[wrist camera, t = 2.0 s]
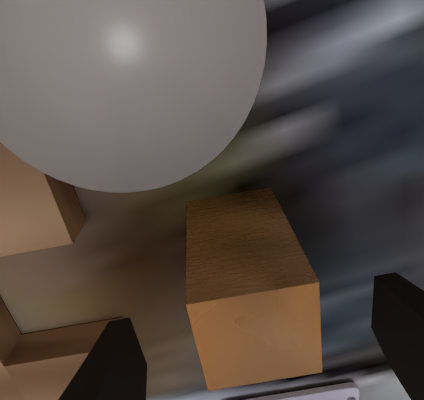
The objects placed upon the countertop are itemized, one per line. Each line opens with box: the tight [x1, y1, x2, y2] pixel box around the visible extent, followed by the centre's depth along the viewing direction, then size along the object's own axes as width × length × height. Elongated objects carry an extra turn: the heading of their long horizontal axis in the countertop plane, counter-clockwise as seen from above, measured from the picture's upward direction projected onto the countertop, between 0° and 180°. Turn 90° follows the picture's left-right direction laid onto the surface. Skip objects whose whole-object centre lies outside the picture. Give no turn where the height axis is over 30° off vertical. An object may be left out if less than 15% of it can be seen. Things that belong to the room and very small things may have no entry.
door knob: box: [0, 0, 267, 193], centre depth 9 cm, size 7×7×6 cm
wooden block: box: [186, 187, 322, 391], centre depth 13 cm, size 4×4×6 cm
